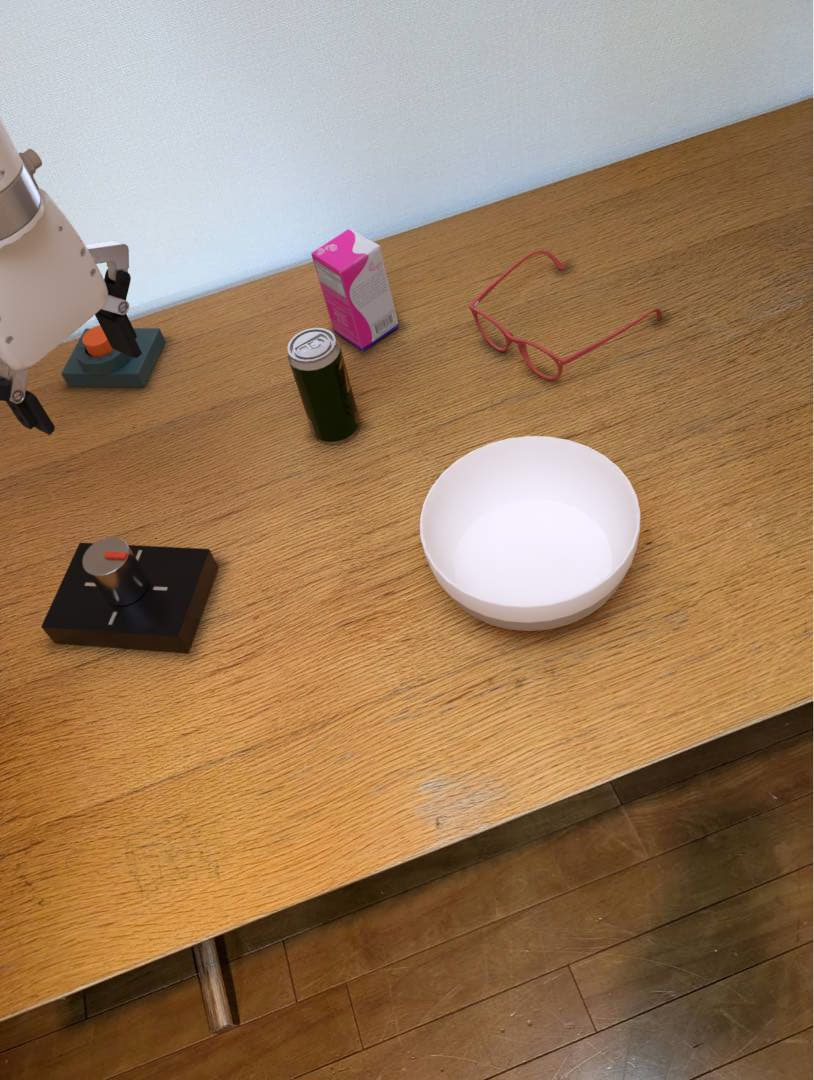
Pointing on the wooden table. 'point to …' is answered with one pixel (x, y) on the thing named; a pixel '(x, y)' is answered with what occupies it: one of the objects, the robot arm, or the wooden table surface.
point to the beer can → (324, 385)
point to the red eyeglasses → (523, 342)
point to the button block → (115, 363)
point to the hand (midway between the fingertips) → (85, 388)
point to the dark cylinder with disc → (115, 571)
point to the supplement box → (356, 289)
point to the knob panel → (135, 603)
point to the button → (96, 342)
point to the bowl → (530, 531)
